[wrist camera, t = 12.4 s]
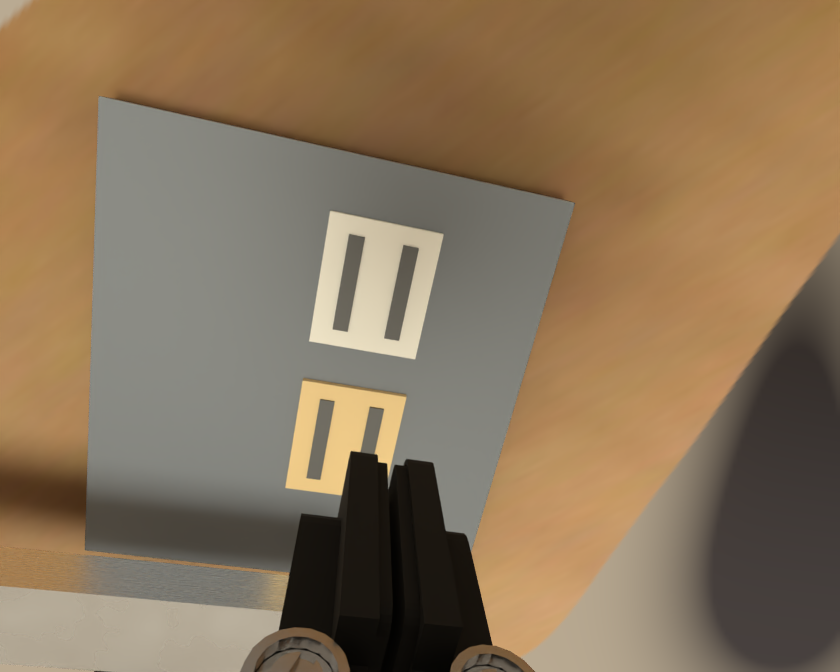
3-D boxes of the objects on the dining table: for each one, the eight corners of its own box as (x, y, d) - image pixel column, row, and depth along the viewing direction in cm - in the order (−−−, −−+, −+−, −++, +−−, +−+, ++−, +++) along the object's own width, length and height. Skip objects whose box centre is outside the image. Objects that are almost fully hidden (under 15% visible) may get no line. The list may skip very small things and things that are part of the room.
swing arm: (363, 577, 25) (362, 621, 23) (348, 647, 26) (346, 694, 24) (-215, 518, 22) (-283, 562, 19) (-200, 601, 23) (-262, 651, 21)
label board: (115, 98, 23) (41, 86, 18) (563, 199, 26) (612, 214, 21) (98, 530, 30) (41, 612, 25) (455, 571, 33) (471, 652, 28)
